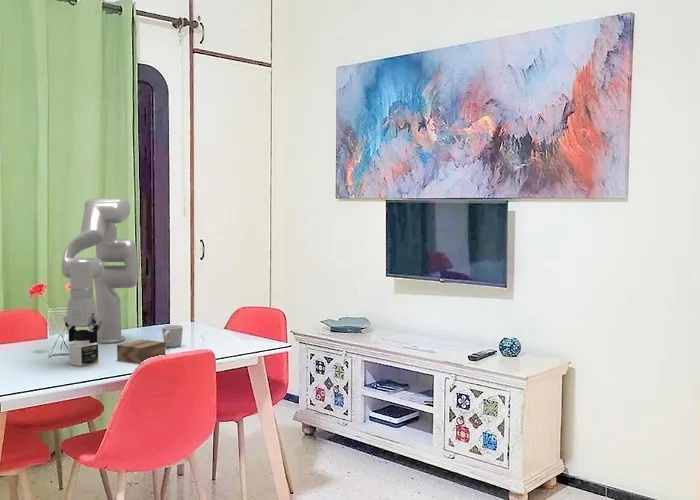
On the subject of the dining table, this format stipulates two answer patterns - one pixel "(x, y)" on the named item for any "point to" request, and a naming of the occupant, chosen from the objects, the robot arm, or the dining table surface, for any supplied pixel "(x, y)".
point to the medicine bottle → (83, 349)
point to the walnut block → (139, 350)
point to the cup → (172, 335)
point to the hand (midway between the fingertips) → (83, 341)
